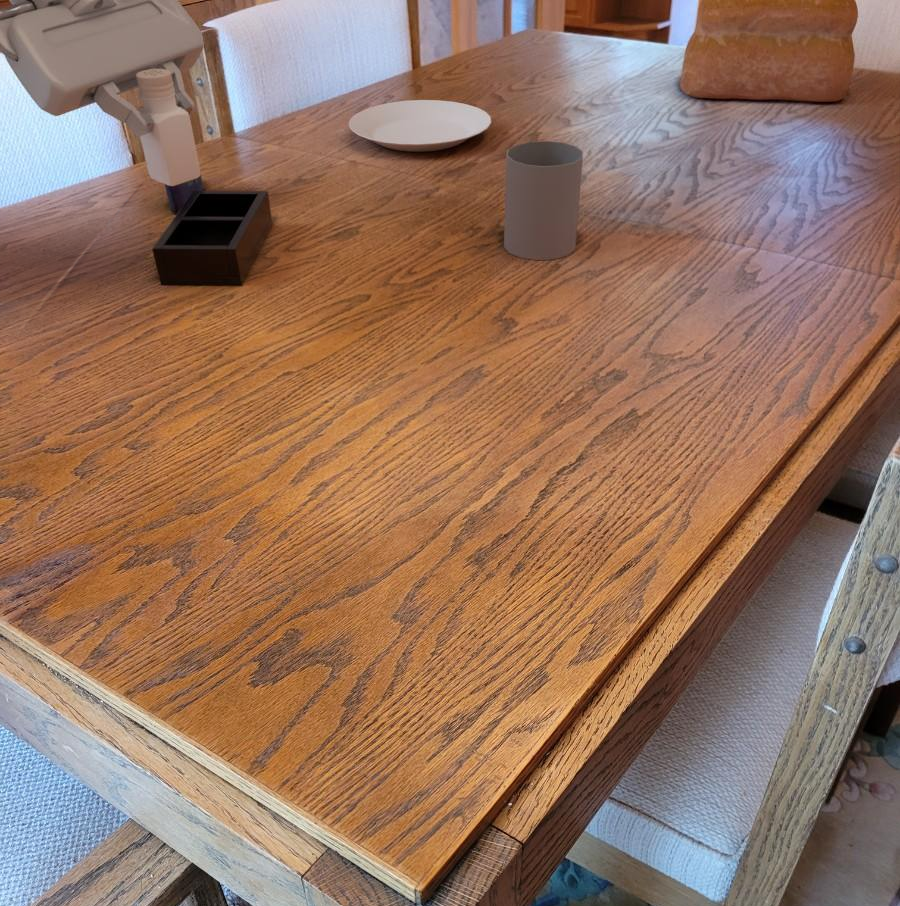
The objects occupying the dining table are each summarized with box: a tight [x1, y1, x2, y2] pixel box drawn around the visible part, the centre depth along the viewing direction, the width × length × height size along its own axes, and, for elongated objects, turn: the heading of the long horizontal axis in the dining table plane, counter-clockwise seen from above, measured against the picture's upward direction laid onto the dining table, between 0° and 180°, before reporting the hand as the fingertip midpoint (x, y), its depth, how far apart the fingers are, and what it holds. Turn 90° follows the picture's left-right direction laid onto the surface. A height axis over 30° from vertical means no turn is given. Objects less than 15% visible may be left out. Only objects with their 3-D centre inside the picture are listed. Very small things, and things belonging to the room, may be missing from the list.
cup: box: [503, 140, 584, 261], centre depth 101 cm, size 8×8×10 cm
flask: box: [164, 173, 205, 215], centre depth 112 cm, size 9×3×11 cm, turn 175°
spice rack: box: [151, 190, 273, 287], centre depth 103 cm, size 9×17×4 cm, turn 177°
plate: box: [348, 99, 492, 153], centre depth 133 cm, size 21×21×2 cm
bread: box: [679, 0, 859, 103], centre depth 142 cm, size 14×26×15 cm, turn 80°
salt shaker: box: [136, 69, 201, 186], centre depth 87 cm, size 4×4×10 cm
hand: (168, 122), depth 87 cm, fingers closed on salt shaker, 4 cm apart
